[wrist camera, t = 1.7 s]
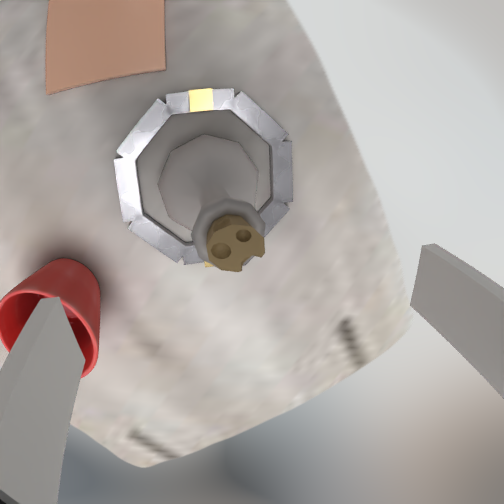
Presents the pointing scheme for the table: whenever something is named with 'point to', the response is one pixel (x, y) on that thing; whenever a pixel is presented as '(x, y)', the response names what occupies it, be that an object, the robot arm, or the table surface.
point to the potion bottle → (215, 200)
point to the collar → (188, 104)
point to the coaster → (102, 41)
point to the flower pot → (72, 298)
